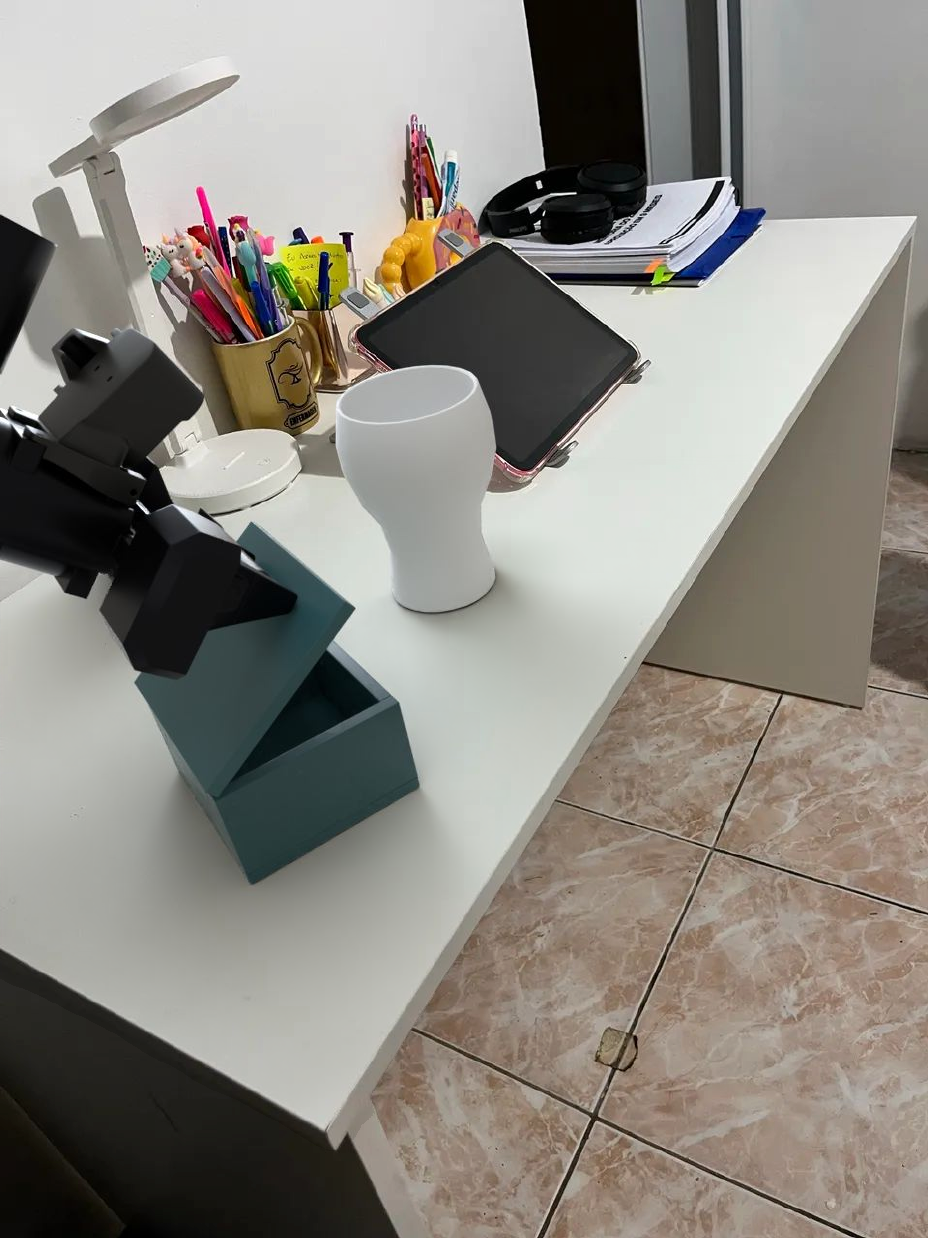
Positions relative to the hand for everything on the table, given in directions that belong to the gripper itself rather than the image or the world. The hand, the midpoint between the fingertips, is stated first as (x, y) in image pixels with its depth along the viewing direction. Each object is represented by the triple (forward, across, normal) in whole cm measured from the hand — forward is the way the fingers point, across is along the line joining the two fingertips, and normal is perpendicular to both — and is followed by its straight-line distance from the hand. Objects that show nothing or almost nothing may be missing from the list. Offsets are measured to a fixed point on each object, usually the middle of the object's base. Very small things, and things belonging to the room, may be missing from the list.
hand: (271, 583), depth 50 cm
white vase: (+20, +11, -2) cm, 23 cm away
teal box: (+7, 0, +11) cm, 13 cm away
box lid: (0, 0, +4) cm, 4 cm away
